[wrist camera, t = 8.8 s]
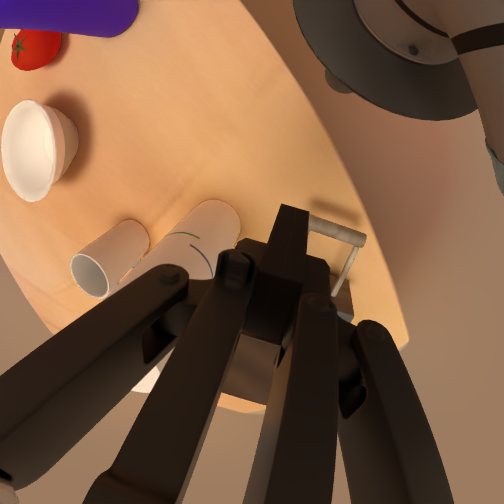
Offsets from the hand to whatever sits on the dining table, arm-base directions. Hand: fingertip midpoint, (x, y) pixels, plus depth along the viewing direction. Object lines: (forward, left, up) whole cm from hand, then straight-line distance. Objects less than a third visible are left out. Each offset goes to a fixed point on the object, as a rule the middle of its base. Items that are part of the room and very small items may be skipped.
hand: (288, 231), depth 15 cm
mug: (+27, -3, -21) cm, 35 cm away
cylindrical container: (+14, +1, -21) cm, 26 cm away
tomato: (+19, -42, -21) cm, 51 cm away
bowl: (+28, -26, -21) cm, 44 cm away
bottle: (+7, -34, -21) cm, 41 cm away
